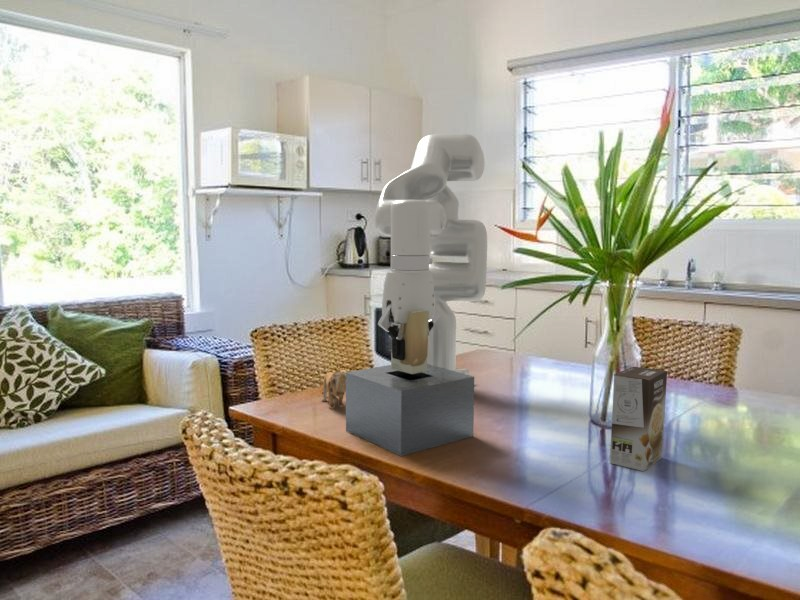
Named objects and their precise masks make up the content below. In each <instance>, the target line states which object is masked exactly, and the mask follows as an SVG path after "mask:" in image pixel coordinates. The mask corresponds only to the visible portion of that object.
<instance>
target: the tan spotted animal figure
mask: <svg viewBox="0 0 800 600" xmlns="http://www.w3.org/2000/svg"><path fill="white" fill-rule="evenodd" d="M346 372H348V370H345V369H340V370H337V371H335V372H331V371H329V372H327V373H326V374H325V375H324V377H323V384H322V387H323V391H322V392H321V394H322V399H321V402H327V393H328V401H329V402H328V403H329V406H328V409H329V410H334V409H335V403H334V399H335V398H336V397H338V402H337V405H338V407H340V408H343V407H346V404H344V403H343V399H344V395H345V394H346Z"/></svg>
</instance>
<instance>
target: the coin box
mask: <svg viewBox="0 0 800 600" xmlns="http://www.w3.org/2000/svg"><path fill="white" fill-rule="evenodd" d="M474 409H475V376H473V375H470V374H469V375H466V374H463V373H459V372H455V371H452V370H448V369H444V368H441V367H437V366H433V365H430V364H427V371H425V372H420V373H416V374H409V373H406V372H402V371H398V370H394V369H391V364H389V365H388V364H387V365H381V366H377V367H370V368H364V369H359V370H358V369H357V370H352V371H347V372H346V392H345V431H346V432H349V433H350V434H353V435H355V436H356V437H360V438H362V439H364V440H365V441H367V442H369V443H372V444H374V445H376V446H378V447H381V448H382V449H384V450H387V451H389V452H391V453H393V454H396V455H398V456H400V457H402V456H406V455H410V454H414V453H417V452H422V451H425V450H428V449H432V448H436V447H440V446H442V445H447V444H451V443H454V442H455V443H456V442H458V441H461V440H462V441H463V440H465V439H468V438H473V437H474V426H475V425H474V419H475V418H474V417H475V414H474V413H475V410H474Z"/></svg>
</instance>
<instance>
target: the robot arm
mask: <svg viewBox="0 0 800 600" xmlns="http://www.w3.org/2000/svg"><path fill="white" fill-rule="evenodd" d="M484 171H485V155H484V151H483V149H482V147H481V145H480V142H479V140H478V139H477V137H475V136H474V135H472V134H470V133H433V134H428V135H426V136H424V137H421V139H420V140H419V141H418V143H417V146H416V148H415V152H414V156H413V159H412V161H411V166H410V169H408V170H406V171H404V172H403V173H401V174H400V175H398V176H397V177H394V178H393V179H391V180H390V181H389V182H387V183H386V185H384V187H383V188H382V190H381V192H380V196H379V198H378V202H377V204H376V208H375V212H374V222H375V228H376V229H377V231H378V233H379V234H380V235H382V236H385V237H390V271H386V275H385V280H384V282H383V283H384V284H383V291H382V302H381V304H382V305H381V316H380V318H379V320H378V322H377V325H378V327H380V328H381V329H382V330H384V331H385V333H386V334H387V336H388V337H389V338H390V339H391V349H392V357H393V358H394V359H398V360H404V359H405V340H403V339H402V337H403V332H404V328H405V324H407V323H408V322H409V313H410V312H412V311H419V310H428V311H429V322H428V354H427V364H430V365H433V366H437V367H441V368H444V369H448V370H452V371H455V372H459V373H463V374H466V375H470V371H469V369H468V368H461V369H460V368H457V367H456V363H457V362H456V360H457V359H456V357H457V356H456V355H457V353H456V352H457V350H456V349H457V319H456V315H455V312H454V311H453V310H452V309H451V307H450V305H448V303H447V302H478V301H481V300H482V299H483V298H484V295H485V293H486V288H487V265H488V263H487V261H488V259H487V258H488V233H487V229H486V226H485V224H484V223H483V222H482V221H480V220H477V219H459V207H460V206H459V205H460V203H459V200H458V198H457V196H456V194H455V193H454V192H453V190H452V189H451V188H450V187H449V186H448V185H447V183H448V182H475V181H478V180H480V179H481V178H482V176H483V174H484ZM432 257H434V258H444V259H445V258H448V259H449V258H451V259H452V258H453V259H454V258H455V259H466V260H467V261H468V262H453V261H434V260H433V258H432ZM392 317H393V318H392ZM390 323H391V324H390ZM397 326H398V329H397Z"/></svg>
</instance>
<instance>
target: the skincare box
mask: <svg viewBox="0 0 800 600" xmlns="http://www.w3.org/2000/svg"><path fill="white" fill-rule="evenodd" d="M392 318H393V317H392ZM428 322H429V311H428V310H419V311H412V312H410V313H409V322H408V323H407V324H405V328H404V332H403V337H402V339H403V340H405V359H404V360H398V359H394V358H393V357H392V348H391V353H390V354H391V355H390V357H391V360H390V365H391V369H394V370H398V371H402V372H406V373H409V374H416V373H420V372H425V371H427V354H428ZM397 329H398V326H397Z"/></svg>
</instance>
